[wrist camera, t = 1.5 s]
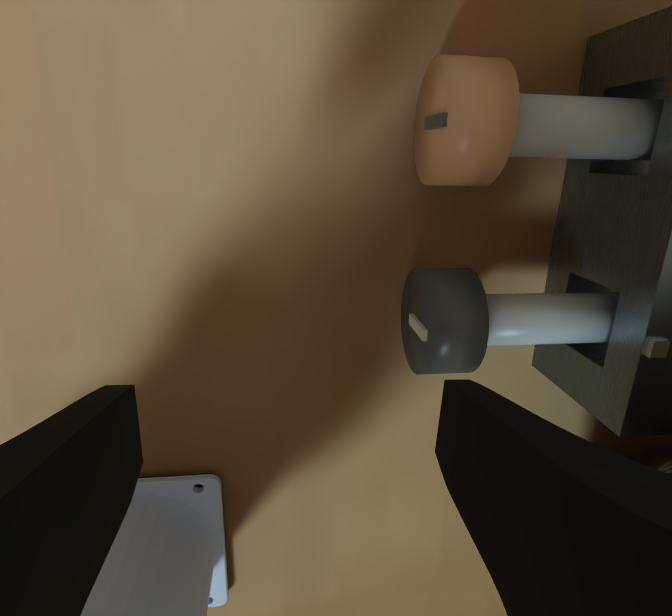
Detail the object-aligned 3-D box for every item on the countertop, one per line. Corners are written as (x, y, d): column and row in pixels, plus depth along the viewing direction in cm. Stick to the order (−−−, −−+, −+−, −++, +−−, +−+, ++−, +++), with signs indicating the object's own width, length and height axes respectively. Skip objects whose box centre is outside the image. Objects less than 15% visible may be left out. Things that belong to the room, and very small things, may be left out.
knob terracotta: (406, 182, 18) (441, 189, 14) (414, 66, 16) (455, 40, 13) (611, 185, 19) (696, 193, 15) (634, 77, 17) (732, 56, 14)
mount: (531, 365, 22) (623, 440, 16) (588, 37, 18) (742, -21, 12) (626, 361, 23) (746, 433, 17) (703, 44, 18) (903, -8, 13)
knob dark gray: (394, 348, 20) (422, 394, 16) (401, 258, 19) (432, 284, 15) (579, 343, 21) (645, 384, 17) (597, 257, 20) (673, 282, 16)
